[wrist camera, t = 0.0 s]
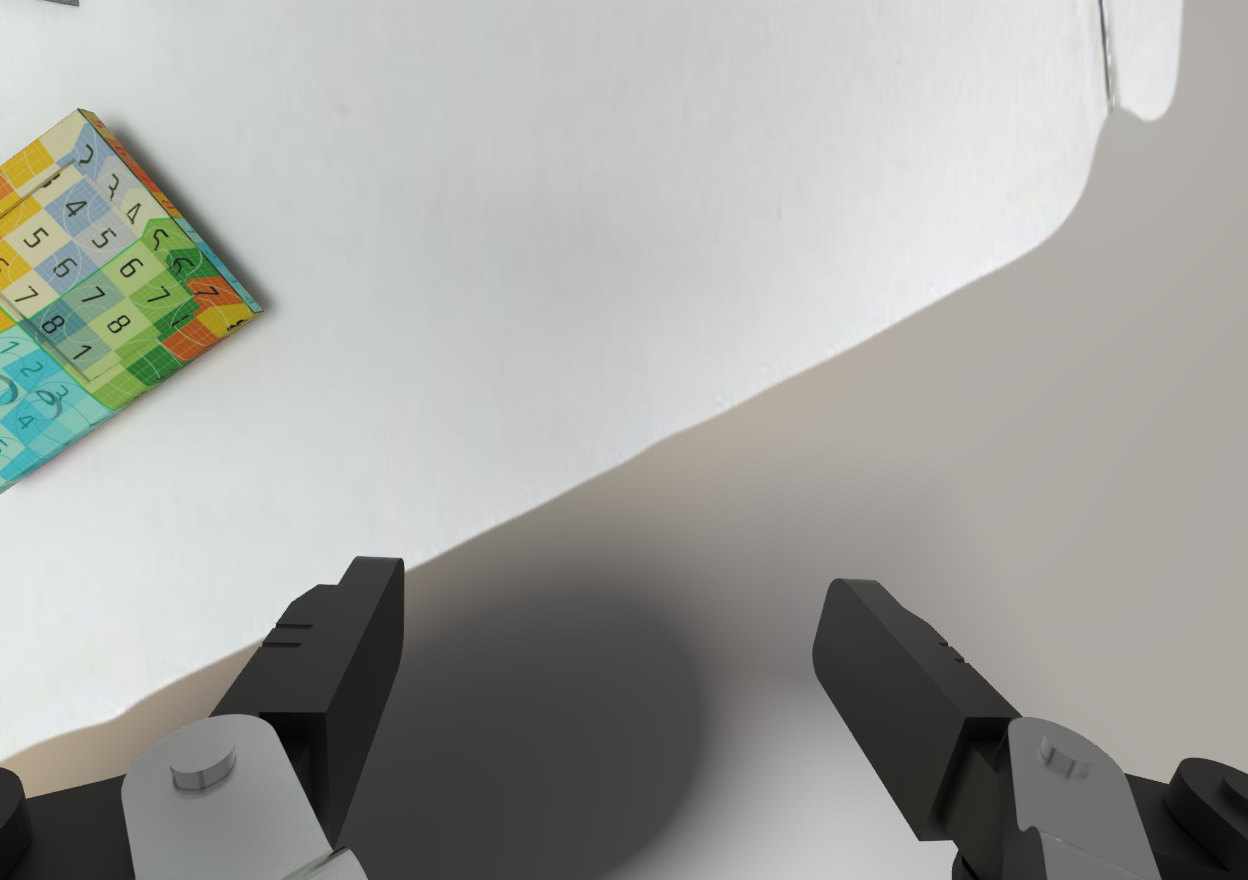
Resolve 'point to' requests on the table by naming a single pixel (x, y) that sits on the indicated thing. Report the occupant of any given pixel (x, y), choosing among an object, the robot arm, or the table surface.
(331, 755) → the robot arm
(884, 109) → the table surface
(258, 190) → the table surface
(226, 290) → the puzzle game
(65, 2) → the mat
